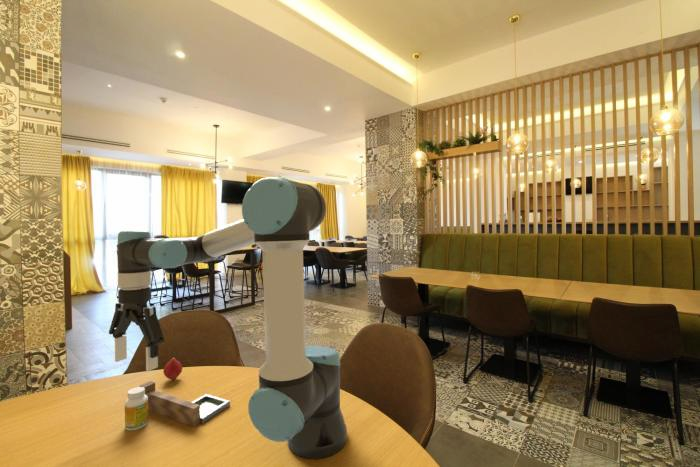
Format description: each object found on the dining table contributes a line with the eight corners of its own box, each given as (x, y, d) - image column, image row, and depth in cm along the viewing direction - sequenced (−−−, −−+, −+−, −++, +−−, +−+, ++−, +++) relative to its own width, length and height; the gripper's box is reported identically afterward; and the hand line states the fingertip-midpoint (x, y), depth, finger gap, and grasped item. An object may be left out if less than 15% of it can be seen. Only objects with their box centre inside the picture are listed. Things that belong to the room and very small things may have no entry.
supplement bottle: (136, 432, 87) (136, 396, 86) (119, 429, 88) (119, 394, 87) (153, 420, 92) (152, 386, 92) (136, 418, 93) (136, 384, 93)
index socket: (230, 405, 99) (229, 400, 99) (202, 423, 90) (202, 418, 90) (206, 398, 104) (206, 393, 104) (177, 415, 94) (177, 409, 94)
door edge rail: (201, 421, 91) (201, 396, 91) (192, 428, 88) (191, 402, 88) (150, 403, 101) (150, 381, 100) (140, 408, 98) (139, 385, 98)
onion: (159, 383, 114) (159, 360, 114) (171, 375, 119) (171, 354, 119) (174, 384, 113) (174, 361, 113) (185, 376, 118) (185, 355, 118)
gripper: (178, 288, 87) (179, 367, 88) (121, 281, 98) (122, 351, 98) (151, 293, 80) (152, 379, 81) (93, 285, 91) (94, 361, 91)
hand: (136, 364), depth 90 cm, fingers open, 13 cm apart
